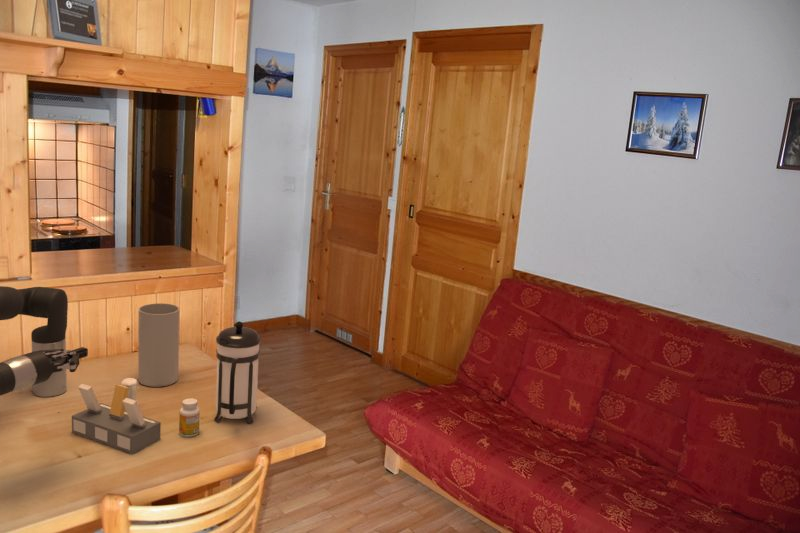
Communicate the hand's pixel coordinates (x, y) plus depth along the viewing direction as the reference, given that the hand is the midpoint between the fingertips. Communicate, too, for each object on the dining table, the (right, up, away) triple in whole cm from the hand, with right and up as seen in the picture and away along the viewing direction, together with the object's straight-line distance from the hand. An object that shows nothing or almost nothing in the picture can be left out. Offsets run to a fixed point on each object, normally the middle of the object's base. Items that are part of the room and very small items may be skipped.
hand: (85, 351), depth 166 cm
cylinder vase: (-1, -17, +53) cm, 56 cm away
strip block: (+1, -25, +15) cm, 29 cm away
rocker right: (+9, -21, +10) cm, 25 cm away
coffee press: (+30, -24, +32) cm, 50 cm away
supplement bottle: (+20, -26, +20) cm, 38 cm away
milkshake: (-2, -21, +32) cm, 38 cm away
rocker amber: (+2, -20, +13) cm, 24 cm away
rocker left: (-5, -18, +16) cm, 25 cm away
